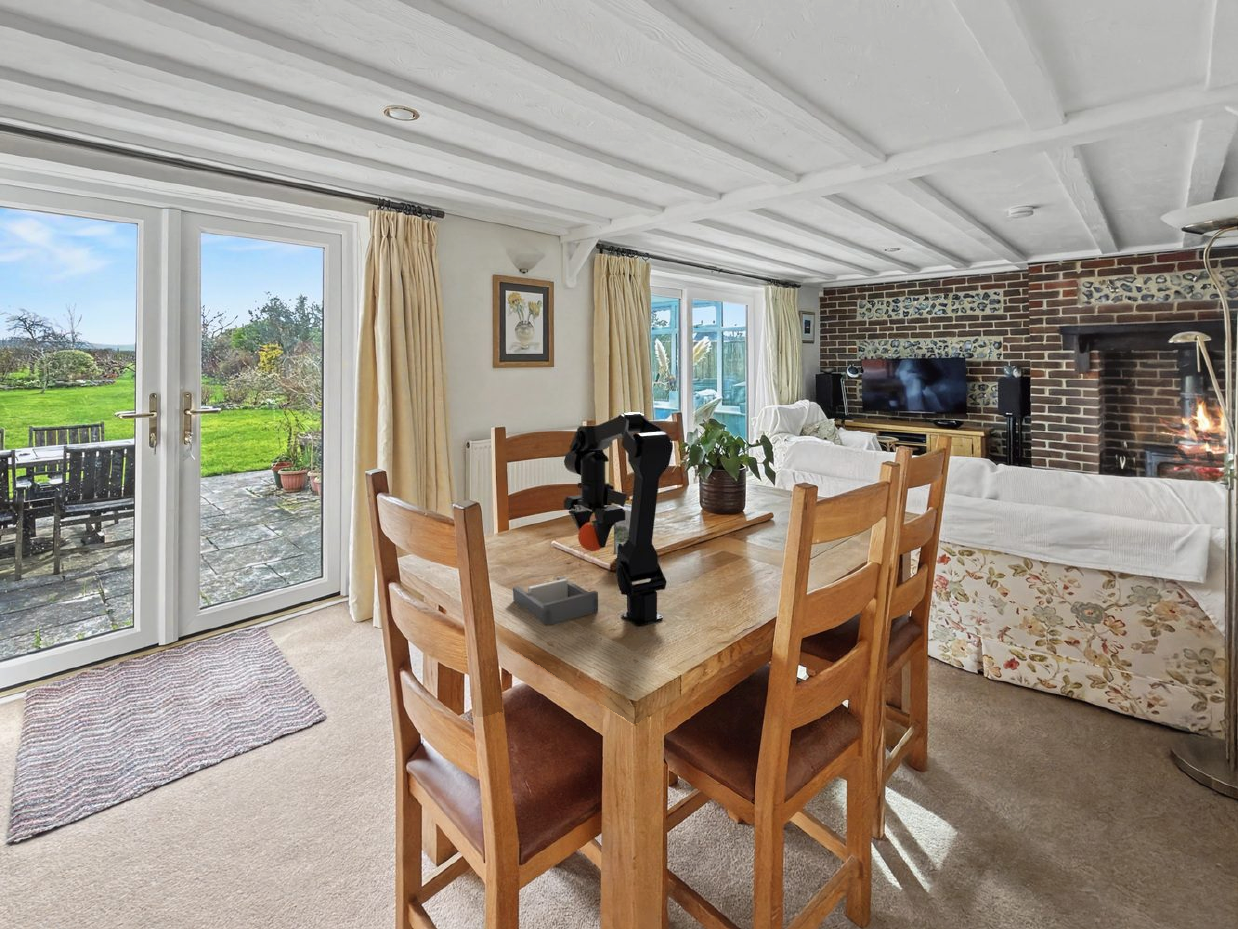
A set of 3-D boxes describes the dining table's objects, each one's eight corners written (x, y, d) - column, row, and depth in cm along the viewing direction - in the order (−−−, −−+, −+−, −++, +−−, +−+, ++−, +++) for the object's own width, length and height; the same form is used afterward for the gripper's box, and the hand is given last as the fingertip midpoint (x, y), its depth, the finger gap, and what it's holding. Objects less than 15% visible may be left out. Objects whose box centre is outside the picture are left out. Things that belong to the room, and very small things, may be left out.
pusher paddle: (567, 597, 142) (567, 580, 141) (530, 606, 136) (530, 588, 136) (565, 595, 143) (564, 578, 142) (528, 604, 137) (527, 587, 137)
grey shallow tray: (598, 611, 134) (597, 592, 133) (546, 625, 127) (545, 605, 126) (562, 589, 147) (561, 571, 146) (513, 600, 140) (512, 582, 139)
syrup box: (642, 557, 170) (642, 505, 168) (631, 563, 165) (631, 509, 163) (624, 553, 173) (624, 502, 171) (613, 559, 168) (612, 507, 166)
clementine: (616, 548, 149) (616, 519, 148) (603, 556, 143) (603, 526, 142) (587, 545, 153) (586, 516, 152) (573, 552, 146) (572, 523, 145)
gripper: (644, 481, 142) (644, 547, 145) (600, 469, 157) (601, 529, 160) (603, 487, 136) (604, 556, 139) (562, 474, 151) (563, 536, 154)
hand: (594, 543), depth 148 cm, fingers closed on clementine, 7 cm apart
